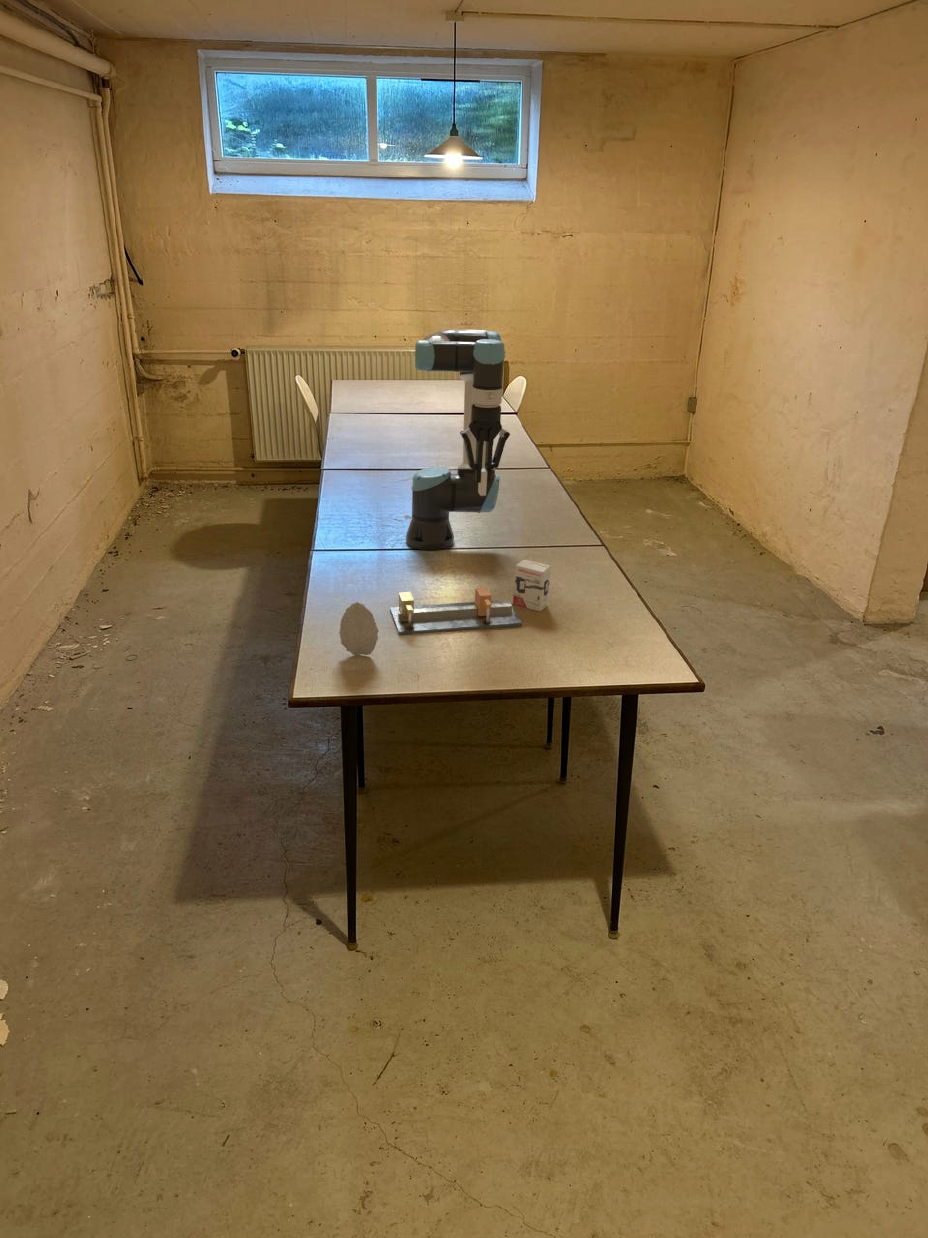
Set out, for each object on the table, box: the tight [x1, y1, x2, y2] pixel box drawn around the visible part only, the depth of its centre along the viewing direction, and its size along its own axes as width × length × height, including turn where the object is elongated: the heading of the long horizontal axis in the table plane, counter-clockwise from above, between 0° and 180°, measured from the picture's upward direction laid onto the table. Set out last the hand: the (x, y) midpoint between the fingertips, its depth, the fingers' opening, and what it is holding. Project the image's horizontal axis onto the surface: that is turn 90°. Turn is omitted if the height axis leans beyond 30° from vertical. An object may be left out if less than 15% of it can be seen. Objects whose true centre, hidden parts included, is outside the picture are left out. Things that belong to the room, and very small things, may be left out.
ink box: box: [512, 559, 552, 612], centre depth 228 cm, size 8×5×12 cm, turn 60°
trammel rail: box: [398, 591, 513, 628], centre depth 218 cm, size 9×30×6 cm, turn 103°
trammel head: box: [474, 586, 492, 622], centre depth 219 cm, size 9×3×6 cm, turn 13°
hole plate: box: [389, 599, 523, 636], centre depth 221 cm, size 14×32×1 cm, turn 103°
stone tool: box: [338, 601, 379, 656], centre depth 198 cm, size 9×3×15 cm, turn 93°
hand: (482, 493), depth 225 cm, fingers closed
